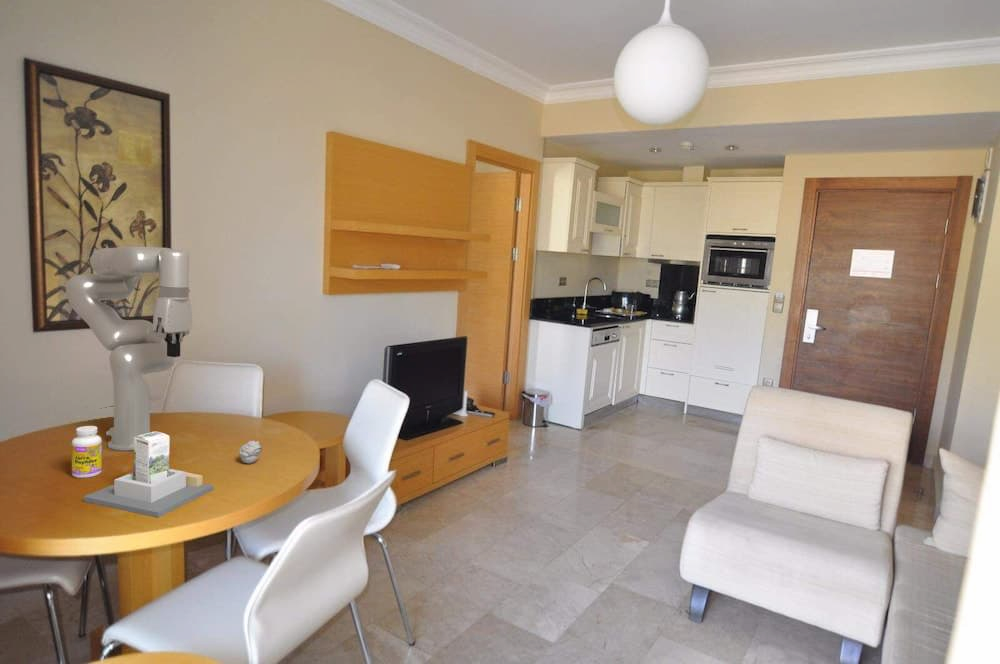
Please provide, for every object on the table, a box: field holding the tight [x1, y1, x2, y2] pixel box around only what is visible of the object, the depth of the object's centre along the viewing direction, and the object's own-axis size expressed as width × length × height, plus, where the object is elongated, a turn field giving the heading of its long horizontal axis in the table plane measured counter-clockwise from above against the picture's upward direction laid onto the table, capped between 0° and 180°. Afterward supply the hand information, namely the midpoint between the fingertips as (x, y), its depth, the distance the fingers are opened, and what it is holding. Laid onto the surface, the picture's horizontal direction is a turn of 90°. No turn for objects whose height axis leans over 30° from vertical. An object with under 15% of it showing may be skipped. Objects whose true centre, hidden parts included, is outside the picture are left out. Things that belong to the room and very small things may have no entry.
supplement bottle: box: [71, 425, 103, 479], centre depth 158 cm, size 7×7×13 cm
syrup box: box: [132, 431, 171, 484], centre depth 148 cm, size 6×6×14 cm
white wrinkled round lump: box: [238, 440, 263, 464], centre depth 175 cm, size 6×7×7 cm
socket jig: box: [83, 468, 214, 518], centre depth 149 cm, size 22×18×5 cm
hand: (173, 356), depth 170 cm, fingers closed
